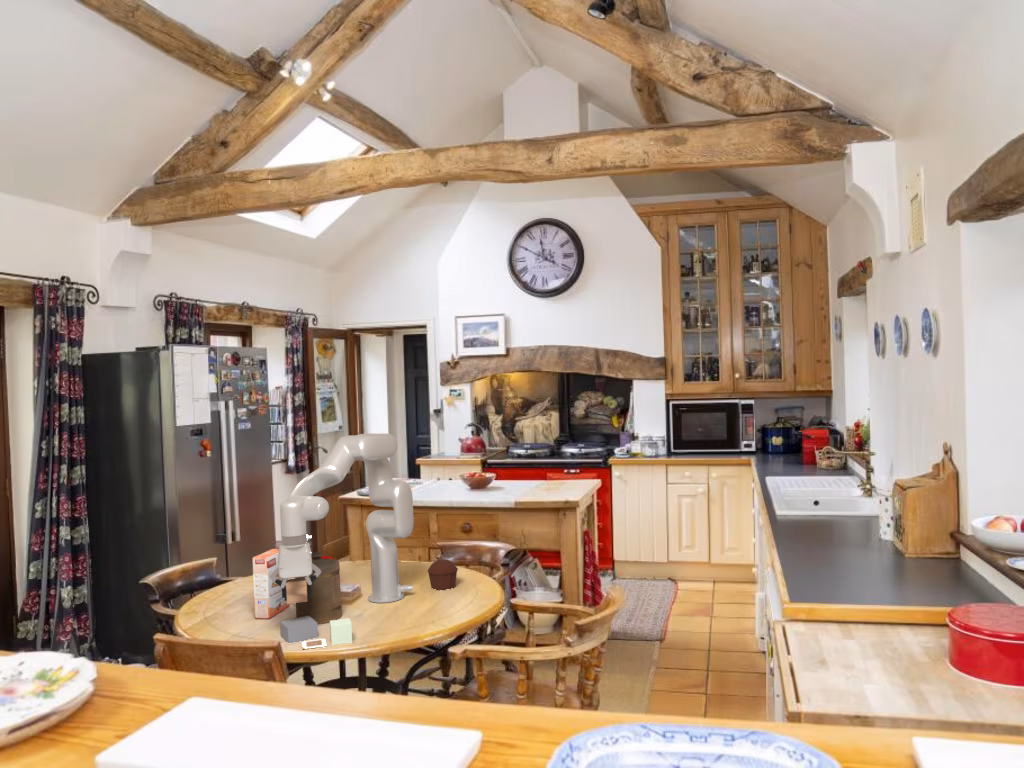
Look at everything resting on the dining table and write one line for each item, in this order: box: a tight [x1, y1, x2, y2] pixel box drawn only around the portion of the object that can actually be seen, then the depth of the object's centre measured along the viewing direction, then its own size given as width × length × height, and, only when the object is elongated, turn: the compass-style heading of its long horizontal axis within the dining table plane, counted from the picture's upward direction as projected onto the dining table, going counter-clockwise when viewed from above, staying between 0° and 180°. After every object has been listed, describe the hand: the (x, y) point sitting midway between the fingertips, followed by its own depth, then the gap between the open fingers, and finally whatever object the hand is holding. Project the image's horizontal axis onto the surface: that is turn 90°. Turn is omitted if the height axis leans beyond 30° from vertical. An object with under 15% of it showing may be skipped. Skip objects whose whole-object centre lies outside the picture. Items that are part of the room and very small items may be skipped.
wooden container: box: [294, 551, 343, 625], centre depth 263 cm, size 15×15×22 cm
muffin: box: [427, 558, 459, 591], centre depth 294 cm, size 12×11×10 cm
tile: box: [301, 637, 328, 649], centre depth 236 cm, size 7×7×1 cm
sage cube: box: [329, 617, 353, 646], centre depth 238 cm, size 6×6×6 cm
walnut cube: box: [286, 578, 307, 604], centre depth 244 cm, size 6×6×6 cm
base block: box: [279, 616, 319, 644], centre depth 244 cm, size 9×9×5 cm
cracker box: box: [252, 548, 290, 620], centre depth 271 cm, size 14×6×21 cm, turn 168°
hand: (296, 598), depth 244 cm, fingers closed on walnut cube, 6 cm apart
